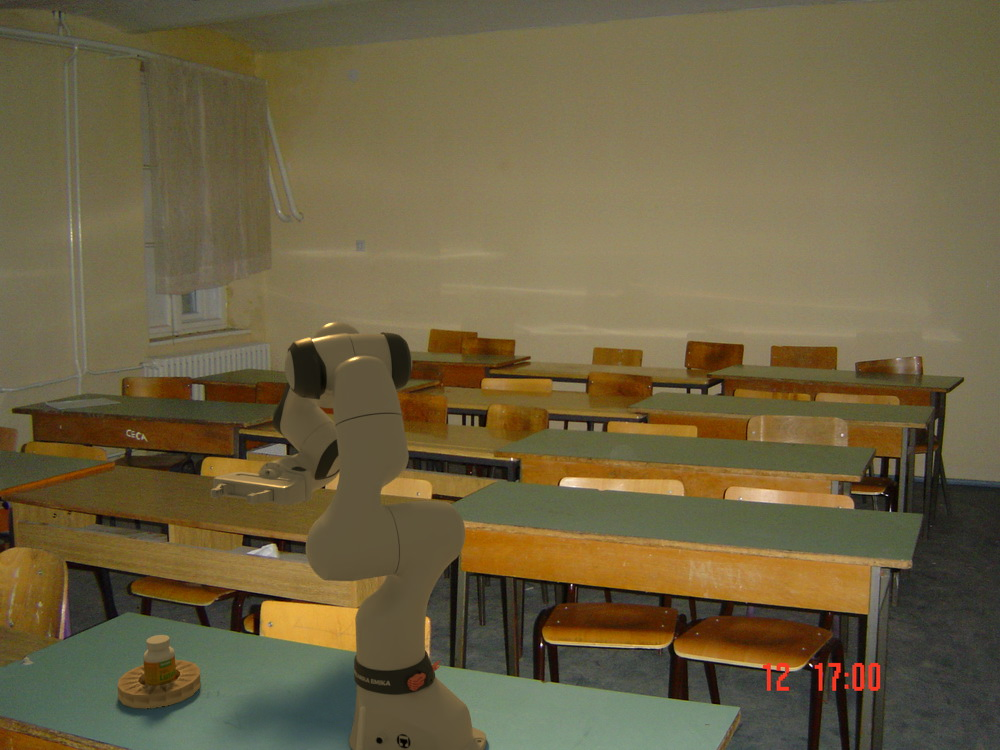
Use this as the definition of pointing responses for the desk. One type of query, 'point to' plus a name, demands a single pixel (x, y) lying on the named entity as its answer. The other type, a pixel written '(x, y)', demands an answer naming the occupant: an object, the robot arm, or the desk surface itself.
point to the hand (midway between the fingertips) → (230, 497)
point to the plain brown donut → (158, 687)
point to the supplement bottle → (159, 661)
